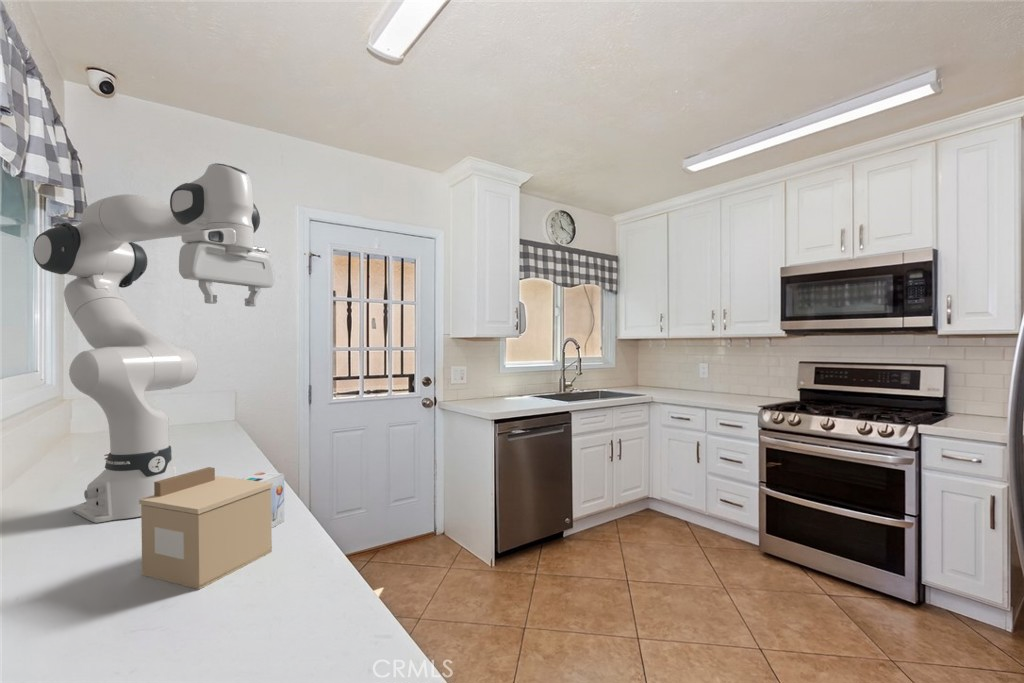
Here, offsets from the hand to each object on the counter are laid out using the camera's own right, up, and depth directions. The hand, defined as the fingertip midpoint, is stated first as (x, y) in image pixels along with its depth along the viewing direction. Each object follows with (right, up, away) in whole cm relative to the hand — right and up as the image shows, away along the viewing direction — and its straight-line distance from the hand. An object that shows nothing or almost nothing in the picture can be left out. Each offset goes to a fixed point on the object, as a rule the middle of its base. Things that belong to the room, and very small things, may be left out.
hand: (231, 305), depth 101 cm
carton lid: (+6, -36, -17) cm, 40 cm away
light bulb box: (+6, -48, -2) cm, 48 cm away
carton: (+6, -48, -17) cm, 51 cm away
